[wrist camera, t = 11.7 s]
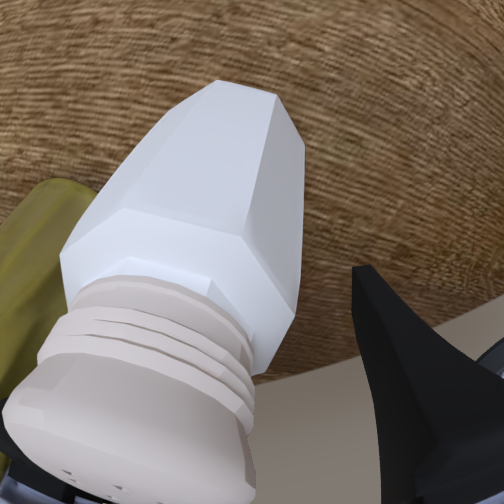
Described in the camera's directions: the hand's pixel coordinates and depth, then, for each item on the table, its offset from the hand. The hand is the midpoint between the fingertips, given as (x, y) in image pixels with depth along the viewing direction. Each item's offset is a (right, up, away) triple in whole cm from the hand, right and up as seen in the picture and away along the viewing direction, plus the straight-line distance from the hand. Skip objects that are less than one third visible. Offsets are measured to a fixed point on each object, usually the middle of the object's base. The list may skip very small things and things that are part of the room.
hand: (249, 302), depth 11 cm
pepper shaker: (-1, +6, +1) cm, 6 cm away
